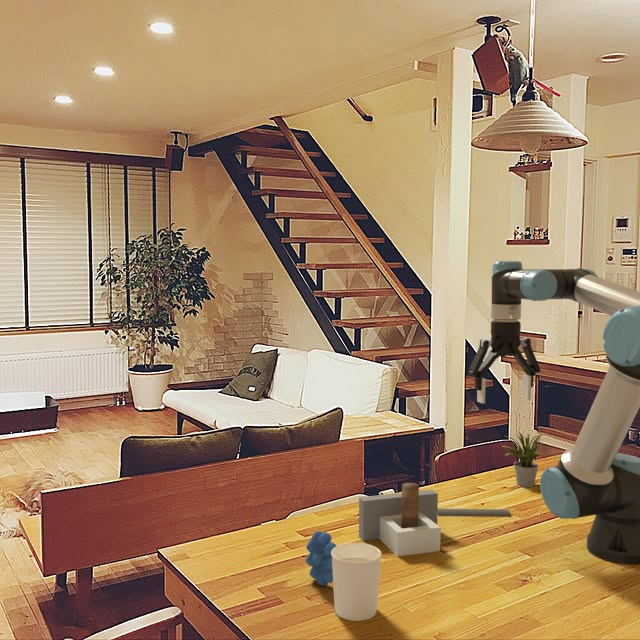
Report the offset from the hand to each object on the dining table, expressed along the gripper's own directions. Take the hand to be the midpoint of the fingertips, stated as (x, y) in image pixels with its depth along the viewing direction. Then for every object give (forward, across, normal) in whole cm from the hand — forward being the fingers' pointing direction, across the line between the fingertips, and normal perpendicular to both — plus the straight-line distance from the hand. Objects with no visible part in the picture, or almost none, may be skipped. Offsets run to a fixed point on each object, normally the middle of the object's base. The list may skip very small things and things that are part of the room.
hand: (503, 401), depth 195 cm
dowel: (+31, -31, -9) cm, 45 cm away
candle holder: (+32, -55, -36) cm, 73 cm away
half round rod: (+32, -6, +5) cm, 33 cm away
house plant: (+32, +24, +24) cm, 46 cm away
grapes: (+32, -57, -23) cm, 69 cm away
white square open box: (+32, -31, -9) cm, 45 cm away
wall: (+32, -31, -2) cm, 44 cm away
